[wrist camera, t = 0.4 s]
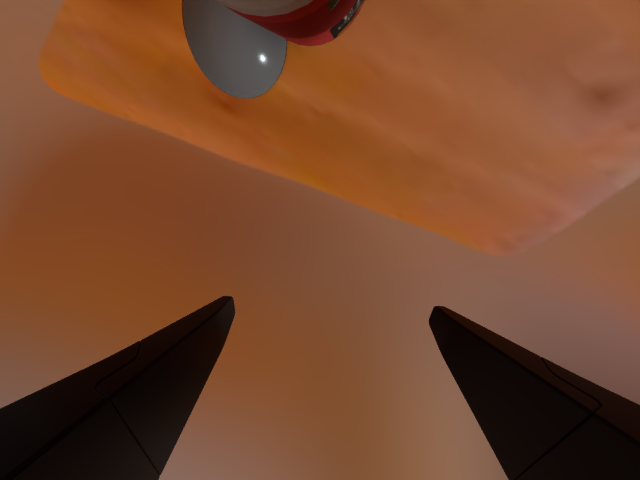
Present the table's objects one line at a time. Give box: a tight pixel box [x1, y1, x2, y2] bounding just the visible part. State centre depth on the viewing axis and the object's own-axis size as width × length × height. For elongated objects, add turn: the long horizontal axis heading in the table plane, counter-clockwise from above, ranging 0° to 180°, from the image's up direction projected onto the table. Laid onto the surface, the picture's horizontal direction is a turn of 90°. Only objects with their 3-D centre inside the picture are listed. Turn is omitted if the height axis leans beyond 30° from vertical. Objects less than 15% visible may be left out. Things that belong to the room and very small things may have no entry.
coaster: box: [183, 0, 287, 98], centre depth 17 cm, size 8×8×1 cm
